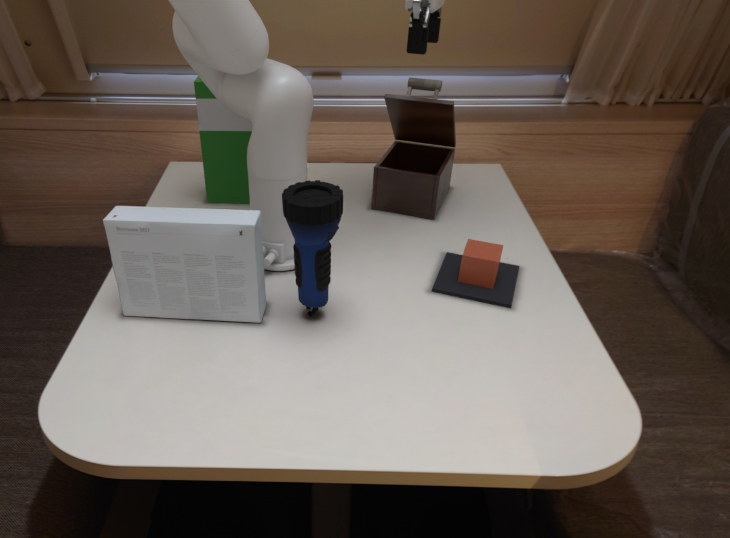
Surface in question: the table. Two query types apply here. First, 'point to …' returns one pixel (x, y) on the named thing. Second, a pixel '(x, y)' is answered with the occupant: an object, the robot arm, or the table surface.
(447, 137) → the lid
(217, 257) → the skincare box
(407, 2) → the robot arm
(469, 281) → the small box
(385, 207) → the chest
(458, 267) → the mat
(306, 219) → the flashlight
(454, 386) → the table surface
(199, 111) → the hardback book
